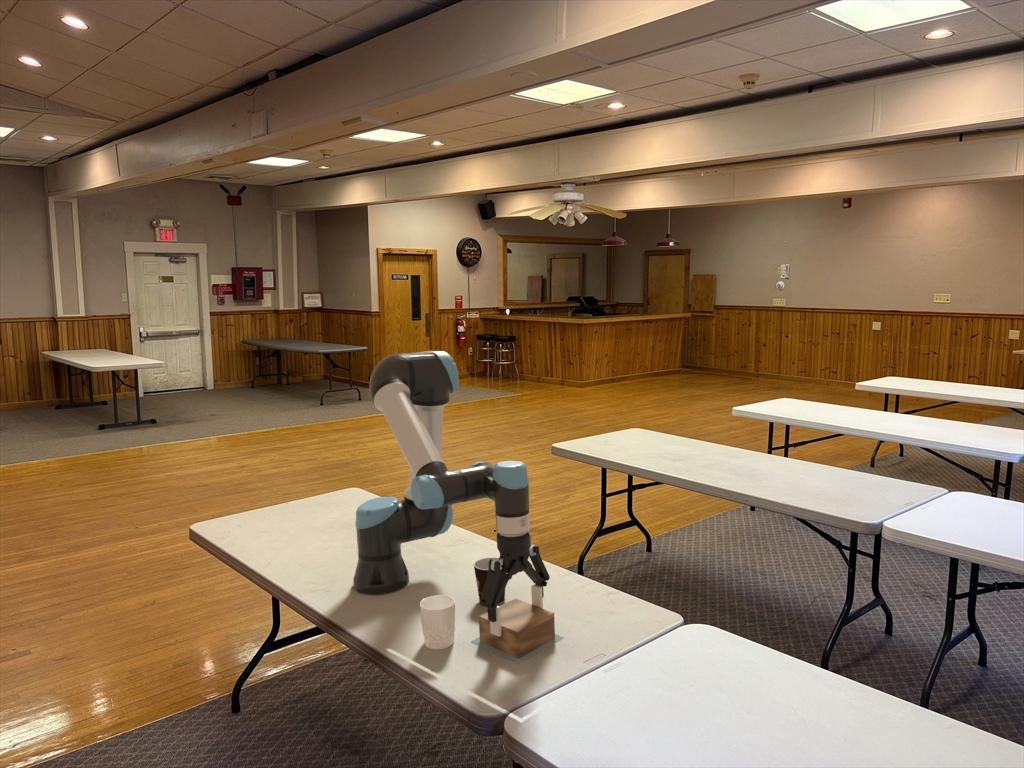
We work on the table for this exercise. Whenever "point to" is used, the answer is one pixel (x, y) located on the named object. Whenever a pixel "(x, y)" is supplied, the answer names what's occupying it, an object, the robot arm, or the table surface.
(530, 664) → the table surface
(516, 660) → the mat
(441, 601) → the white cup
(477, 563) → the coffee mug
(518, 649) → the brown wooden block
